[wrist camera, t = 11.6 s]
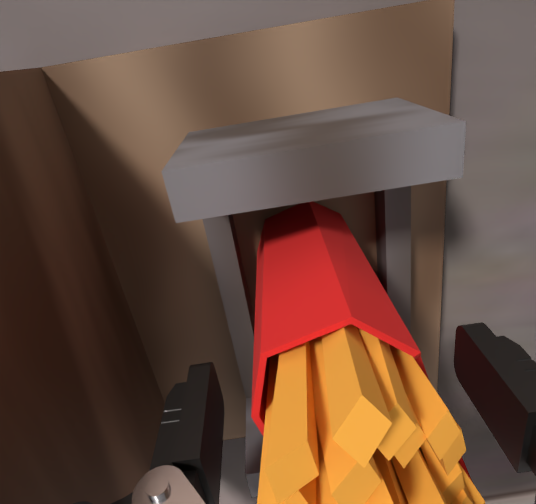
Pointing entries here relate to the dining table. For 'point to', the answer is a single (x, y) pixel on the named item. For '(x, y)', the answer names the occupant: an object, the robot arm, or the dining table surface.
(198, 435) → the robot arm
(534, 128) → the dining table surface
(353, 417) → the french fries
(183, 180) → the wooden shelf
